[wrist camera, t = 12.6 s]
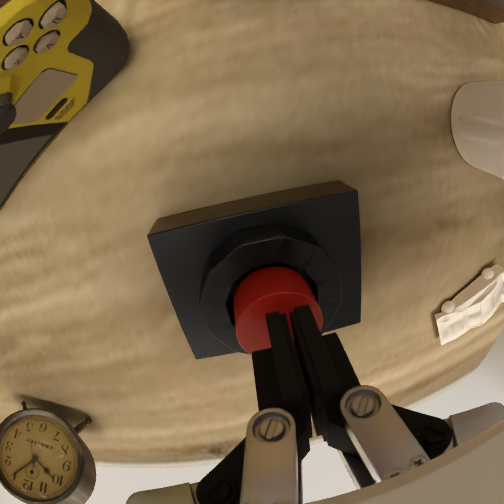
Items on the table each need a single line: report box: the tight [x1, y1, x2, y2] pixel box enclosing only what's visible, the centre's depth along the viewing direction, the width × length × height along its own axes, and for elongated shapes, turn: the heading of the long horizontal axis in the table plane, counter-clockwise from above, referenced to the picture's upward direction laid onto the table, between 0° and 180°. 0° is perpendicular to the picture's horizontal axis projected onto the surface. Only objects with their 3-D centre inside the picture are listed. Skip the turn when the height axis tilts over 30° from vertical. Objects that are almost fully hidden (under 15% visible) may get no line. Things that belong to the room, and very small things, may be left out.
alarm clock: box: [0, 401, 96, 504], centre depth 15 cm, size 11×5×16 cm, turn 85°
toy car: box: [435, 264, 504, 345], centre depth 19 cm, size 5×8×2 cm, turn 124°
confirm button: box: [233, 266, 323, 355], centre depth 13 cm, size 4×4×2 cm
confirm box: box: [147, 181, 361, 359], centre depth 15 cm, size 10×8×4 cm
